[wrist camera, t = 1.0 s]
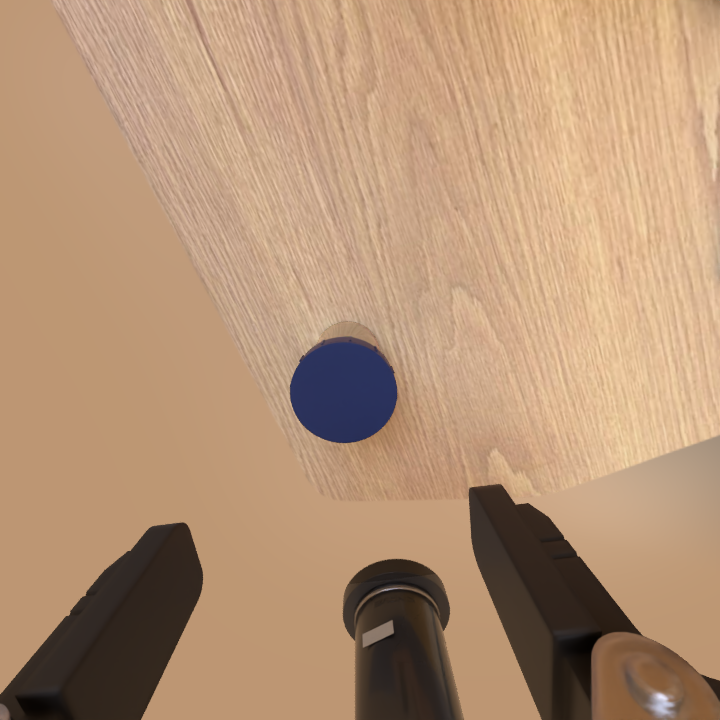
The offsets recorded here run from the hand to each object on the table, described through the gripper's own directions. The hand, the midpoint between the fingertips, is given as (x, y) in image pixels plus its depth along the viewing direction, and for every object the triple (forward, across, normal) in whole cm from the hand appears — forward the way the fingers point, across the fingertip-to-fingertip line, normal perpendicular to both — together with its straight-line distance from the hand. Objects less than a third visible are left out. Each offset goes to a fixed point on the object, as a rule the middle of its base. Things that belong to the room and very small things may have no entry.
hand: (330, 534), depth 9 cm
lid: (+10, 0, 0) cm, 10 cm away
